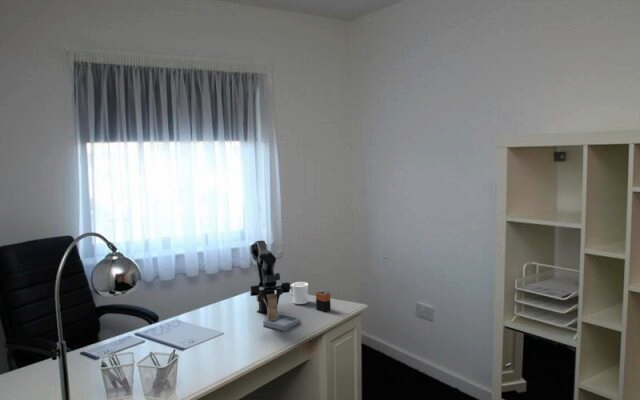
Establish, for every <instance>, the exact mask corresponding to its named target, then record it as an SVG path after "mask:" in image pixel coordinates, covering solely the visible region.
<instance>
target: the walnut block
mask: <svg viewBox="0 0 640 400" xmlns="http://www.w3.org/2000/svg"><path fill="white" fill-rule="evenodd" d="M267 301H268V306H267V314H266V315H267V316H266V317H267V319H268V320H277V319H278V314H279V313H278V305H277V296H276V293H275V294H267Z"/></svg>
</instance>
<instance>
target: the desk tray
mask: <svg viewBox="0 0 640 400" xmlns="http://www.w3.org/2000/svg"><path fill="white" fill-rule="evenodd" d="M277 314H278V319H277V320H268V318H267V319H264V320H263V322H262V324H263V327H266V328H269V329H272V330H273V329H274V330H276V331H279V332H286V331H288V330H289V329H291V328H294V327H296V326H298V325H300V324H301V322H302V321H301V317H299V316H294V315H290V314H286V313H282V312H280V313H277Z"/></svg>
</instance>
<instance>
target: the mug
mask: <svg viewBox="0 0 640 400" xmlns="http://www.w3.org/2000/svg"><path fill="white" fill-rule="evenodd" d="M290 286H291V288H292V289H290V292H289V294H290V297H291V298H292V303H293V304H294V305H296V306H305V305H307V304H308V303H309V283H308V282H305V281H296V282H293V283H292V284H290Z"/></svg>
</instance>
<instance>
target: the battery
mask: <svg viewBox="0 0 640 400" xmlns="http://www.w3.org/2000/svg"><path fill="white" fill-rule="evenodd" d="M315 308H316V310H317V311H319V312H323V313H327V312H329V311H331V293H329V292H328V291H325V290H323V289H319V290H318V291H317V292H315Z"/></svg>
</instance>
